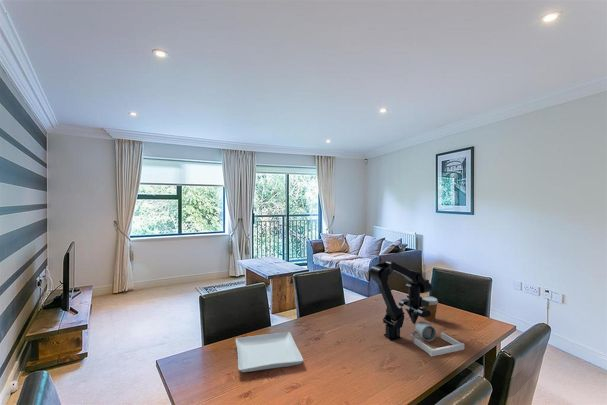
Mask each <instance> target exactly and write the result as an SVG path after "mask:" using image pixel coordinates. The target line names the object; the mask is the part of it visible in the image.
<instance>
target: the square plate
mask: <svg viewBox="0 0 607 405" xmlns="http://www.w3.org/2000/svg"><path fill="white" fill-rule="evenodd" d="M235 345H236V350H237V352H236V353H237V367H238V368H237V369H238V370H239V372H241V373H248V372H256V371H257V372H258V371H261V370H262V371H264V370H270V369H276V368H286V367H293V366H298V365H301V364H302V363H303V362H304V358H303V356H302V354H301V351H300V350H299V349H298V346H297V344H296V342H295V339H294V338H293V336H292V334H291V332H289V331H286V332H276V333H275V332H274V333H266V334H257V335H251V336H244V337H237V338H235Z"/></svg>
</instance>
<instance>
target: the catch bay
mask: <svg viewBox="0 0 607 405" xmlns="http://www.w3.org/2000/svg"><path fill="white" fill-rule="evenodd" d="M440 338H441V339H442V340H444V341H446V342H447V343H449V344H451V345H446V346H442V347H437V348H432V347H430V346H428V345H427V344H426V343H424V342H423V341H421V339H417V338H414V339H413V344H414V345H416V346H417V347H419V348H420V349H421V350H422V351H424V352H426V353H427V354H428V355H429V356H430V357H435V356H441V355H444V354H446V355H447V354H450V353H453V352H459V351H464V350H465V343H463V342H460V341H458V340H457V339H455V338H453V337H451V336H450V335H447V334H446V333H444V332H441V333H440Z"/></svg>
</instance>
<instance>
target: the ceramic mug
mask: <svg viewBox="0 0 607 405" xmlns="http://www.w3.org/2000/svg"><path fill="white" fill-rule="evenodd" d="M414 328H415V330H413V331H412V332H411V337H412V339H413V340H414V338H417V339H418V340H421V339H422V340H424V341H425V342H432V341H433V340H435V338H436V336H437V330H436V328H435V327H434V326H433V325H431V324H429V323H427V321H422V320H421V321H418V322H416V323H415V327H414ZM416 334H418V335H417V336H415V335H416Z"/></svg>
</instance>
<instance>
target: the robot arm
mask: <svg viewBox="0 0 607 405" xmlns="http://www.w3.org/2000/svg"><path fill="white" fill-rule="evenodd" d="M368 272H369V275H370V277H371V279H372V280H373V281H374V283H376V284H377V286H378V288H379V291H380V293H381V296H382V299H383V300H384V303H385V305H386V310H385V315H384V317H383V318H382V322H383V323H384V324H385V333H383V336H384V337H385V338H386V339H388V340H389V341H391V342H392V341H397V340H401V339H402V336H401V328H403V325H404V321H405V312H404V310H403V307H404V305H405V307H406V308H405V311H406V312H407V314H408V316H409V319H410V320H411V323H412V324H413V325H416V324H417V321H418V318H419V317H420V318H423V317H428V316H431V311H430V310H428V309H426V308H422V307H423V306H425V307H427V308H428V306H429V302H428V301H426V300H424V299H422V297H423V296H421V294H426V293H427V294H428V293H430V292H432V291H433V286H432V284H431V282H430V280H429V279H426V278H425V279H424V277H423V274H422V272H420V271H416V270H413V269H408V268H406V267H404V266H403V265H400V264H398V263H396V262H395V261H392V260H385V261H383V262H380V263H377V264H375V265H373V266H371V267H370V270H368ZM392 272H396V273H397V274H399V275H402V276H403V277H404V278H405V279H406V280H407V281H408V282H407V283H406V284H405V287H407V288H408V295H406V298H404V299H400V300H399V301H398V304H397V303H396V300H395V298H394V296H393V293H392V291H391V288H390V284H389V283H388V280H389V276H390V275H391V274H392Z"/></svg>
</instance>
